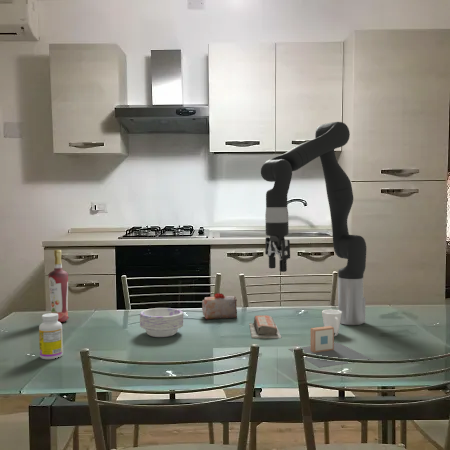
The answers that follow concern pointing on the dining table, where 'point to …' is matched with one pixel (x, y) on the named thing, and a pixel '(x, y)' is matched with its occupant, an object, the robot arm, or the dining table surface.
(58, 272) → the liquor
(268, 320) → the packaged product
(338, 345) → the mat
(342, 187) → the robot arm
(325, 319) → the cup
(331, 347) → the tile
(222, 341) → the dining table surface
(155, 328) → the paper bowls
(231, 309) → the food item
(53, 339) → the supplement bottle
